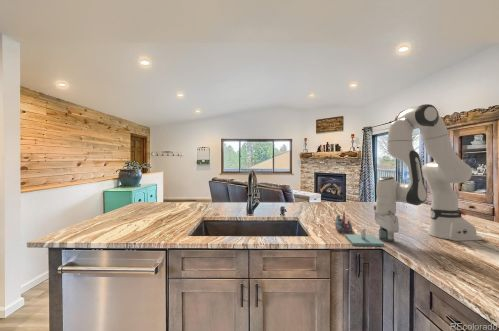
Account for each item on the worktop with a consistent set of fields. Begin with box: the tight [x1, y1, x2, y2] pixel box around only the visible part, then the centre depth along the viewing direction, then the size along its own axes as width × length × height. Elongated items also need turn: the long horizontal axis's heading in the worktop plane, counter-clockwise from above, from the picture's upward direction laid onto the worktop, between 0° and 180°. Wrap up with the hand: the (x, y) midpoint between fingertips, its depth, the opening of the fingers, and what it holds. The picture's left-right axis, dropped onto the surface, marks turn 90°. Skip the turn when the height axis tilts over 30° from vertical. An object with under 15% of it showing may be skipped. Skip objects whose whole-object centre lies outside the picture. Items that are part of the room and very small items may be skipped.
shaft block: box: [344, 227, 385, 247], centre depth 128 cm, size 14×14×6 cm
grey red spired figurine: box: [333, 211, 354, 233], centre depth 148 cm, size 11×11×12 cm
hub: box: [378, 228, 395, 243], centre depth 130 cm, size 6×6×5 cm
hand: (386, 236), depth 130 cm, fingers closed on hub, 6 cm apart
